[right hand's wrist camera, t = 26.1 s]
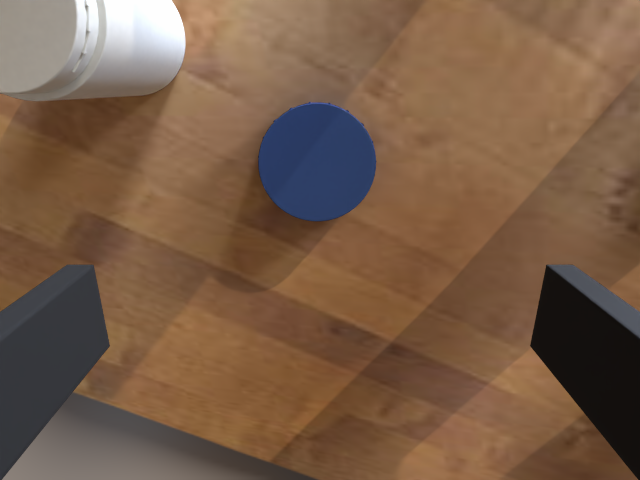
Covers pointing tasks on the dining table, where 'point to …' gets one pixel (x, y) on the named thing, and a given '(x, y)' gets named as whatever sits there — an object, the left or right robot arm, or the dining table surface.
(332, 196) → the lid
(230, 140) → the dining table surface
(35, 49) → the jar
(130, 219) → the dining table surface
